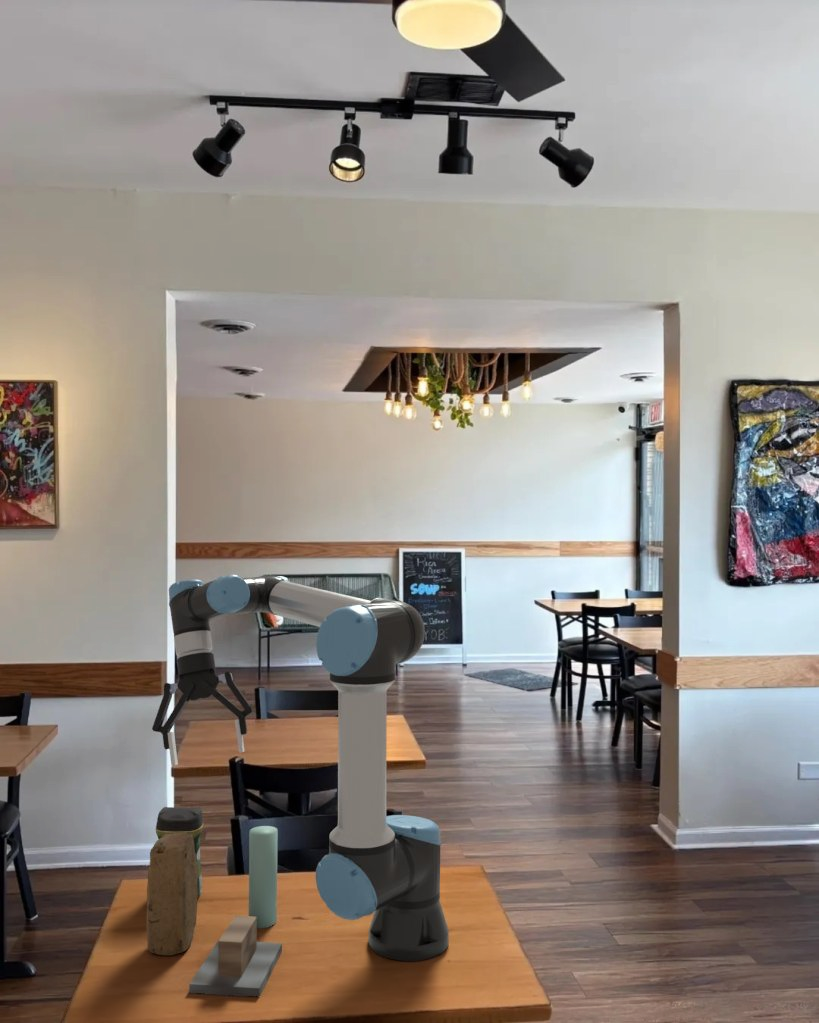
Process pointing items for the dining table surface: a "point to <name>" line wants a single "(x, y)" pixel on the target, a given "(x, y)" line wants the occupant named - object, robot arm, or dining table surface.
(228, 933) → the ridge stand
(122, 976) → the dining table surface
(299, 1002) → the dining table surface
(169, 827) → the coffee jar
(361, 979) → the dining table surface
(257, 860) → the cylinder
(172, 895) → the block
